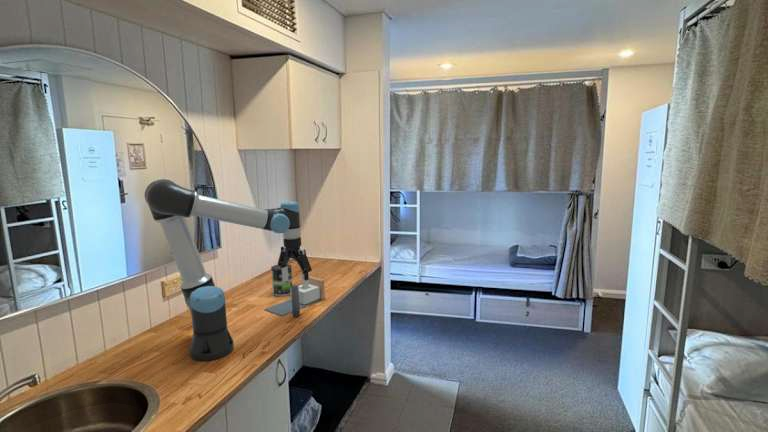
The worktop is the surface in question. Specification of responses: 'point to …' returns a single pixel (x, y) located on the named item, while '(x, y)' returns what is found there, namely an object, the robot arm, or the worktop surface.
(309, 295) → the hole block
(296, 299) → the dowel
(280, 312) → the rubber mat
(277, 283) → the coffee can
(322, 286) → the wall
